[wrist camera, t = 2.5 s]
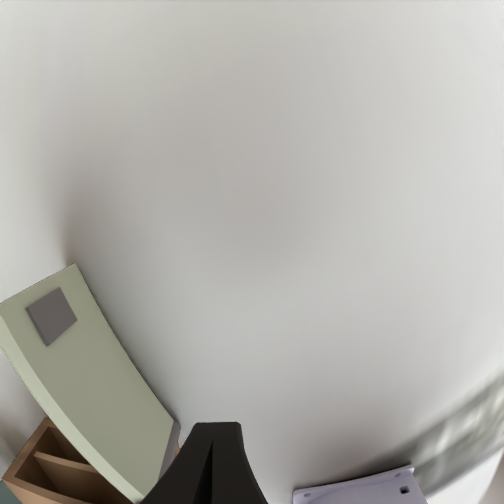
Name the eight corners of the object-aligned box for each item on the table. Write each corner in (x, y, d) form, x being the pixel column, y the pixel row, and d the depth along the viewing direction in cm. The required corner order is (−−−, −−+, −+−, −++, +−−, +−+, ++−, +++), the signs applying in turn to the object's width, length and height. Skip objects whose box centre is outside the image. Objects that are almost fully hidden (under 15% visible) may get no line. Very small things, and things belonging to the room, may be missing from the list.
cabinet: (174, 434, 16) (152, 524, 9) (201, 506, 18) (193, 575, 11) (45, 417, 16) (1, 478, 9) (89, 490, 18) (66, 546, 11)
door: (186, 430, 16) (167, 518, 9) (167, 434, 16) (144, 518, 9) (79, 260, 13) (-7, 306, 7) (62, 270, 14) (-23, 318, 7)
